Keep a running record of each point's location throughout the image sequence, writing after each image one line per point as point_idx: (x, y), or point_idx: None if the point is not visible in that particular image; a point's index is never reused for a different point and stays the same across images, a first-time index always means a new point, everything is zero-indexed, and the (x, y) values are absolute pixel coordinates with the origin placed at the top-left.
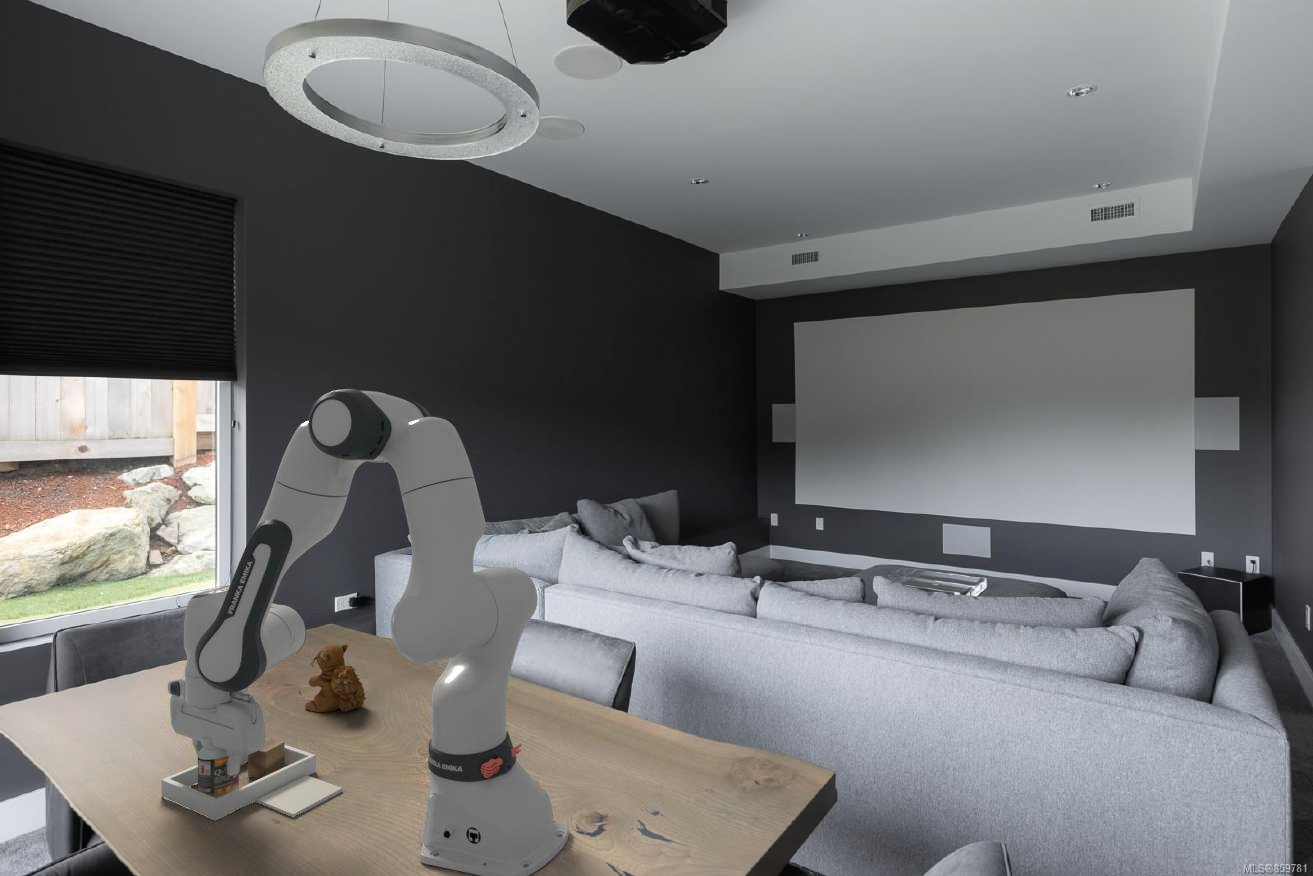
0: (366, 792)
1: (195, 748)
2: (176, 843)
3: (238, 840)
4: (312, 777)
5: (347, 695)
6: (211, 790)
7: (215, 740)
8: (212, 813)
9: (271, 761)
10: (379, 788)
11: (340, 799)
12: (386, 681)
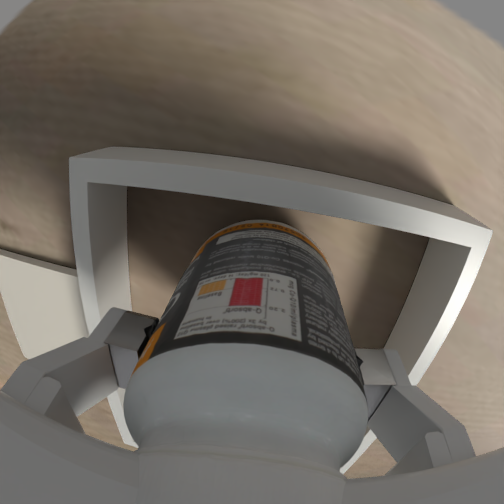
0: (7, 352)
1: (435, 410)
2: (118, 14)
3: (2, 125)
4: None
5: None
6: (214, 244)
7: (74, 493)
8: (111, 149)
9: None
10: (8, 364)
11: (8, 328)
12: None
